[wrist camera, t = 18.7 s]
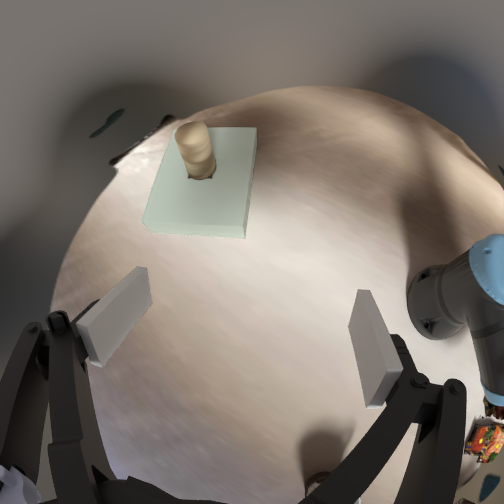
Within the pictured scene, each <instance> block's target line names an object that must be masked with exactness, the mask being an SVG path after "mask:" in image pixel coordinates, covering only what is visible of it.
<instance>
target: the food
mask: <svg viewBox="0 0 504 504" xmlns="http://www.w3.org/2000/svg"><path fill="white" fill-rule="evenodd" d="M483 402H484V405H485V414H486V417H487V416H489V417H491V415H492V414H493V416H494V417H496V419H500V418H501V420H503V419H504V406H497V405H494V404H492V403H490V402H489V401H488V400H487V398H486V396H485V398H484V401H483ZM499 417H500V418H499ZM483 418H484V417H483V416H482V419H483ZM503 443H504V425H503V424H497V423H495V422H494V424H493V425H492V426H481V425H478V424H476V425H475V427H474V429H473V432H472V434H471V436H470V438H469V440H468V442H467V444H466V447H465V449H464V454H469V455H477V456H479V459H478V461H477V463H478V462H480V461H479V460H480V458H481V459H482V461H481V462H482V463H488V462H491V461H493V460H494V459H495V458H496V457H497V455H498V452H499V451H500V449H501V447H502V445H503ZM481 456H482V457H481Z"/></svg>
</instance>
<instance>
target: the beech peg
mask: <svg viewBox="0 0 504 504" xmlns="http://www.w3.org/2000/svg"><path fill="white" fill-rule="evenodd" d="M174 137H175V140H176V143H177V146H178V148H179V151H180V154H181V156H182V159H183V161H184V164H185V167H186V169H187V172H188V175H189V176H190V177H191V178H192V179H194V180H204V179H212V177H213V174H214V173H215V171H216V168H217V166H216V161H215V158H214V154H213V150H212V146H211V142H210V138H209V134H208V130H207V126H206V125H205V124H204V123H202V122H189V123H186V124H184V125H182V126H181V127H179V128H178V129H177V131H176V132H175V135H174Z"/></svg>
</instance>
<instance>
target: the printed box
mask: <svg viewBox="0 0 504 504" xmlns="http://www.w3.org/2000/svg"><path fill="white" fill-rule="evenodd" d="M455 504H475V503H473V502H470V501H468V500H466V499H464V498H462V499H460V500H459V501H458V502H456V503H455Z"/></svg>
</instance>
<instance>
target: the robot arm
mask: <svg viewBox="0 0 504 504" xmlns="http://www.w3.org/2000/svg"><path fill="white" fill-rule="evenodd" d="M407 303H408V311H409V315H410V318H411V321H412V323H413V325H414V327H415V328H416V329H417V331H418V332H419V333H420V334H421V335H423V336H424V337H426V338H428V339H431V340H442V339H446V338H449V337H451V336H453V335H454V334H456V333H457V332H458V331H459V330H460V329H461V328H462V327H463V326H465V325H466V324H467V323H468V326H469V329H470V332H471V336H472V340H473V344H474V348H475V352H476V357H477V361H478V366H479V371H480V380H481V384H482V386H483V389H484V393H485V396H486V398H487V400H488V401H489V402H490V403H492V404H494V405H497V406H504V235H503V234H491V235H489V236H487V237H486V238H484V239H483V240H481V241H478V242H476V243H475V244H473V245H472V247H471V248H470V249H469V250H468V251H466V252H465V253H463V254H462V255H460V256H459V257H458V258H456V259H455V260H453V261H452V262H450V263H449V264H444V265H433V266H430V267H428V268H426V269H424V270H423V271H421V272H420V273H419V274H418V275H417V276H416V277H415V278H414V279H413V281H412V283H411V285H410V288H409V292H408V300H407ZM151 305H152V298H151V292H150V285H149V278H148V270H147V268H145V267H138V266H137V267H136V268H135V269H134V270H133V271H132V272H130V273H129V274H128V275H127V276H126V277H125V278H124V279H123V280H121V281H120V282H119V283H118V284H117V285H116V286H115V287H114V288H113V289H111V290H110V291H109V292H108V293H107V294H106V295H105V296H104V297H103V298H102V299H101V300H100V299H98V300H96V301H94V302H92V303H91V304H90V305H89V306H88V307H87V308H86V309H84V310H83V311H82V313H80V314H79V315H78V316H77V317H76V318H75V319H74V320H73V321H72V322H71V323H70V321H69V319H68V316H67V313H66V312H65V311H55V312H52V313H51V314H49V315H48V316H47V317H46V322H47V325H48V327H49V330H43V327H42V325H41V323H39V322H32V323H29V324H28V325H27V326H25V328H24V329H23V331H22V333H21V335H20V338H19V339H18V341H17V344H16V346H15V348H14V350H13V352H12V354H11V357H10V359H9V361H8V364H7V366H6V369H5V371H4V374H3V376H2V378H1V381H0V504H37V503H39V502H40V501H41V496H40V494H39V493H38V492H37V489H36V483H37V478H38V472H39V464H40V452H41V444H42V436H43V429H44V423H45V417H46V411H47V406H48V402H49V404H50V405H49V406H50V419H51V430H52V438H53V442H52V444H48V457H49V462H50V468H51V474H52V479H53V483H54V487H55V491H56V495H57V498H56V499H53V500H50V501H46V502H43V503H39V504H227V503H221V502H216V501H211V500H183V499H178V498H175V497H174V496H172V495H170V494H168V493H166V492H165V491H163V490H161V489H159V488H158V487H156V486H154V485H152V484H150V483H147V482H144V481H141V480H139V479H136V478H134V477H131V476H128V478H127V480H121V479H117V478H116V476H115V475H114V473H113V471H112V470H111V468H110V465H109V462H108V459H107V456H106V453H105V450H104V446H103V443H102V439H101V435H100V431H99V427H98V423H97V419H96V415H95V410H94V405H93V400H92V395H91V389H90V383H89V377H88V370H87V364H86V362H85V359H86V358H87V357H88V356H89V359H90V361H91V363H92V364H93V365H96V366H99V367H101V368H103V367H104V365H105V364H106V363H107V361H108V360H109V359H110V357H111V356H112V355H113V353H114V352H115V351H116V349H117V348H118V347H119V345H120V344H121V343H122V342H123V340H124V339H125V338H126V336H127V335H128V334H129V333H130V331H131V330H132V329H133V327H134V326H135V325H136V324H137V322H138V321H139V320H140V319H141V317H142V316H143V315H144V314H145V312H146V311H147V310H148V309H149V307H150V306H151ZM348 328H349V332H350V336H351V340H352V344H353V348H354V352H355V357H356V361H357V366H358V370H359V375H360V380H361V384H362V389H363V394H364V400H365V405H366V409H375V408H381V407H382V405H383V404H384V402H385V401H386V405H387V406H386V407H385V409H384V410H383V412H382V413H381V415H380V416H379V417H378V419H377V420H376V421H375V423H374V424H373V425H372V427H371V428H370V429H369V430H368V432H367V433H366V434H365V436H364V437H363V438H362V439H361V440H360V442H359V443H358V444H357V445H356V446H355V448H354V449H353V450H352V451H351V452H350V453H349V455H348V456H347V457H346V458H345V459H344V460H343V461H342V462H341V463H340V465H339V466H338V467H337V468H336V469H335V470H334V471H333V472H332V473H331V474H330V475H329V476H328V477H327V478H326V479H325V480H324V481H323V482H322V483H321V484H320V485H319V486H318V487H317V488H316V489H315V490H313V491H312V492H311V493H310V494H309V495H308V496H306V497H305V498H304V499H303V500H302V501H300V502H299V503H298V504H354V503H355V502H356V501H357V500H358V499H359V498H360V496H361V495H362V494H363V493H364V492H365V490H366V489H367V488H368V487H369V485H370V484H371V483H372V482H373V480H374V479H375V478H376V476H377V475H378V474H379V472H380V471H381V470H382V468H383V467H384V466H385V464H386V463H387V461H388V460H389V458H390V457H391V455H392V454H393V452H394V451H395V449H396V448H397V446H398V445H399V443H400V442H401V440H402V438H403V437H404V435H405V433H406V432H407V430H408V428H409V426H410V425H411V423H418V424H419V425H418V429H417V433H416V437H415V441H414V445H413V449H412V452H411V456H410V459H409V463H408V466H407V469H406V472H405V475H404V478H403V481H402V484H401V486H400V489H399V492H398V494H397V497H396V499H395V502H394V504H453V500H454V497H455V492H456V488H457V484H458V479H459V474H460V468H461V462H462V455H463V447H464V438H465V426H466V402H467V391H466V387H465V385H464V384H463V383H462V382H461V381H460V380H457V379H448V380H447V381H446V382H445V383H444V385H437V384H432V383H430V382H429V379H428V378H427V377H426V376H425V375H424V374H422V373H419V372H418V371H417V369H416V367H415V364H414V362H413V360H412V357H411V355H410V354H409V350H408V349H407V346H406V344H405V342H404V340H403V339H402V338H401V337H400V336H399V335H398V334H389V332H388V329H387V327H386V325H385V322H384V320H383V318H382V316H381V313H380V311H379V309H378V307H377V305H376V302H375V300H374V298H373V296H372V294H371V292H370V290H360V289H358V292H357V296H356V300H355V303H354V307H353V311H352V315H351V318H350V322H349V325H348Z"/></svg>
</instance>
